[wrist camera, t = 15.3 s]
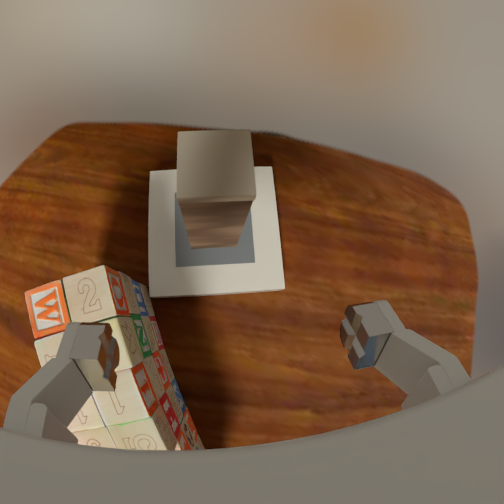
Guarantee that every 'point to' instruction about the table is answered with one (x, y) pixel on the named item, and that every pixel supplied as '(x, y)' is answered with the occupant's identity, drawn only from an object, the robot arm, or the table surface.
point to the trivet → (212, 259)
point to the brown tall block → (215, 185)
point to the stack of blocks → (130, 364)
